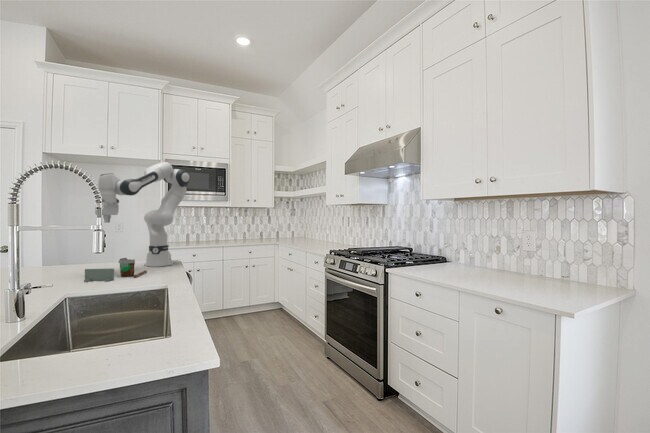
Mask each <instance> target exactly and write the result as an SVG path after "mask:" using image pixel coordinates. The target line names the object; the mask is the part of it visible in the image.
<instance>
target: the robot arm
mask: <svg viewBox="0 0 650 433" xmlns="http://www.w3.org/2000/svg"><path fill="white" fill-rule="evenodd" d="M162 180H163V181H164V182H165V183H168V184H171V187H170V189H168V191H167V193H166V194H165V195H164V196H163V198H162V199H161V201H160V206H159V208H158V209H152V210H149V211H147V212H146V213H145V214H144V216H143V217H144V218H143V219H144V222H145V223H146V226H147V229H148V230H147V231H148V234H149V245H148V252H147V253H146V261H145V263H144V264H143V266H146V267H151V268H153V267H154V268H155V267H166V266H173V265H174V264H175V260H172V254H171V252H170V251H169V247H170V246H169V244H168V233H167V232H166V230H165V227H166V226H169V225H171V224H172V223H173V222H174V214H175V212H176V209H177V207H179V205H180V204H181V202H182V201H183V199H184V197H185V196H186V194H187V190H188V189H187V186H188V185H189V183H190V180H191V174H190V172H189V171H187V170H185V169H179V168H173V166H172V164H171V163H169V162H167V161H163V162H158V163H155V164H153V165H150V166H149V167H147V168H145V170H144V174H143V175H142V176H140V177H137V178H128V179H122V178H120V177H118V176H117V175H115V173H103V174H100V175H99V177H98V182H97V188H98V192H99V191H100V193H101V196H102V203H103V204H104V208H103V209H102V215H101V216H102V218H103V220H104V221H103V222H104V223H105V224H108V223H111V218H112V216H117V215H118V214H119V203H120V200H119V198H117V195H118V196H136V195H137V194H138V193H139V192H140V190H142V189H143V188H145V187H147V186H148V185H150V184H152V183H158V182H159V181H162ZM94 210H95V211H94V213H95V215H96V216H98V215H97V210H96V207H95V209H94Z"/></svg>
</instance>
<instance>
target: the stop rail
mask: <svg viewBox="0 0 650 433" xmlns="http://www.w3.org/2000/svg"><path fill="white" fill-rule="evenodd" d="M147 272H148V271H147V270H142V271H140V272H139V273H136V274H134V276H133V279H137V278H139V277H141V276H143V275H145V274H147Z"/></svg>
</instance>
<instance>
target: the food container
mask: <svg viewBox="0 0 650 433" xmlns="http://www.w3.org/2000/svg"><path fill="white" fill-rule="evenodd" d="M118 264H119V270H120V271H119V272H120V277H123V278H127V277H128V278H129V277H130V278H131V277H134V275H135V265H136V259H134V258H133V259H128V258H127V257H123V258H119V260H118Z"/></svg>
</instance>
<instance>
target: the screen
mask: <svg viewBox="0 0 650 433" xmlns="http://www.w3.org/2000/svg"><path fill="white" fill-rule="evenodd" d="M110 281H115V268H84V283H89V282H104V283H105V282H106V283H107V282H110Z"/></svg>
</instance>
